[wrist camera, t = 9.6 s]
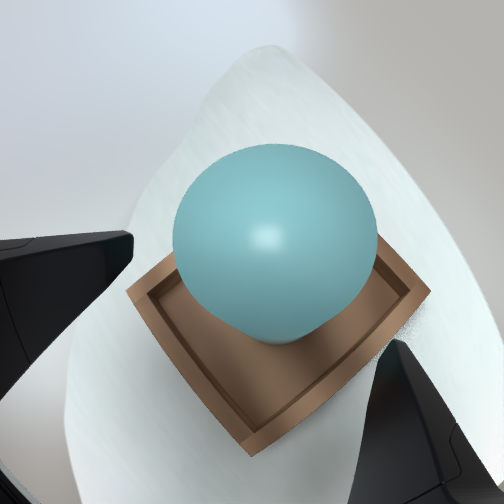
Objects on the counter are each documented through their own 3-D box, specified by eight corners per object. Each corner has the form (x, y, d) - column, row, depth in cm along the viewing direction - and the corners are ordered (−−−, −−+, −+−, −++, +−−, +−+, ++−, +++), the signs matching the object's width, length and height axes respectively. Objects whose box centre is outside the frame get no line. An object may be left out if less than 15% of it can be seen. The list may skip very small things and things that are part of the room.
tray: (255, 444, 17) (251, 457, 15) (143, 299, 22) (125, 290, 19) (413, 299, 20) (431, 290, 17) (295, 180, 25) (296, 158, 22)
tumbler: (311, 352, 19) (363, 351, 7) (225, 334, 20) (147, 304, 8) (327, 269, 20) (379, 162, 9) (245, 253, 21) (206, 135, 10)
